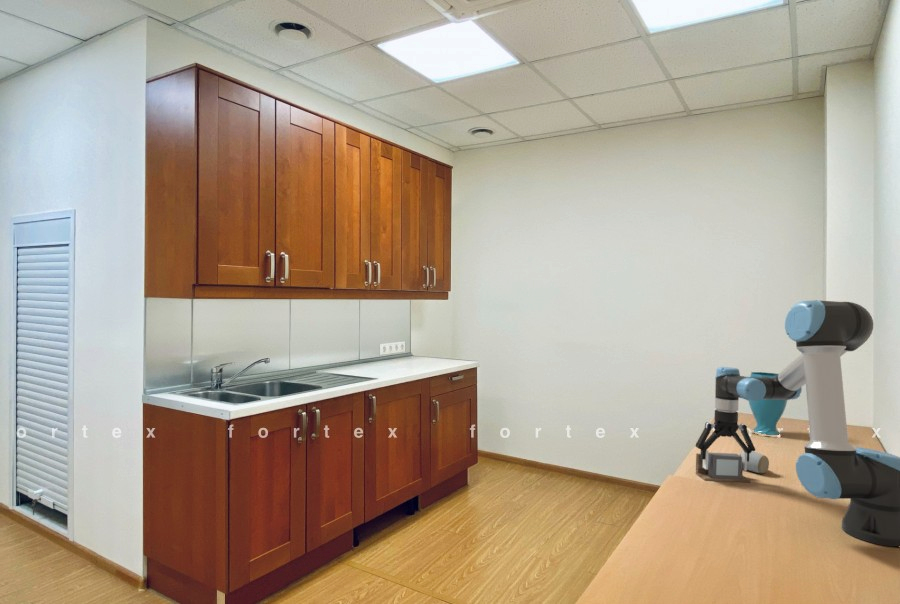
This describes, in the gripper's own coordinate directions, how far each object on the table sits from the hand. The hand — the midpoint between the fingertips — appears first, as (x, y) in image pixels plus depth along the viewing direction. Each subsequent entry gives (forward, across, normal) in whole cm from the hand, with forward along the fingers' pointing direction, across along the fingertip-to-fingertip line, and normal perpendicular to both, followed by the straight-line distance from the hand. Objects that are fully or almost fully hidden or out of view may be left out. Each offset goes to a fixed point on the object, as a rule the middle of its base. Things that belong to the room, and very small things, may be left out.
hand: (724, 469), depth 194 cm
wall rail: (+3, 0, -1) cm, 4 cm away
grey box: (+3, 0, 0) cm, 3 cm away
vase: (+4, -57, -77) cm, 96 cm away
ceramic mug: (+4, -18, -12) cm, 22 cm away
